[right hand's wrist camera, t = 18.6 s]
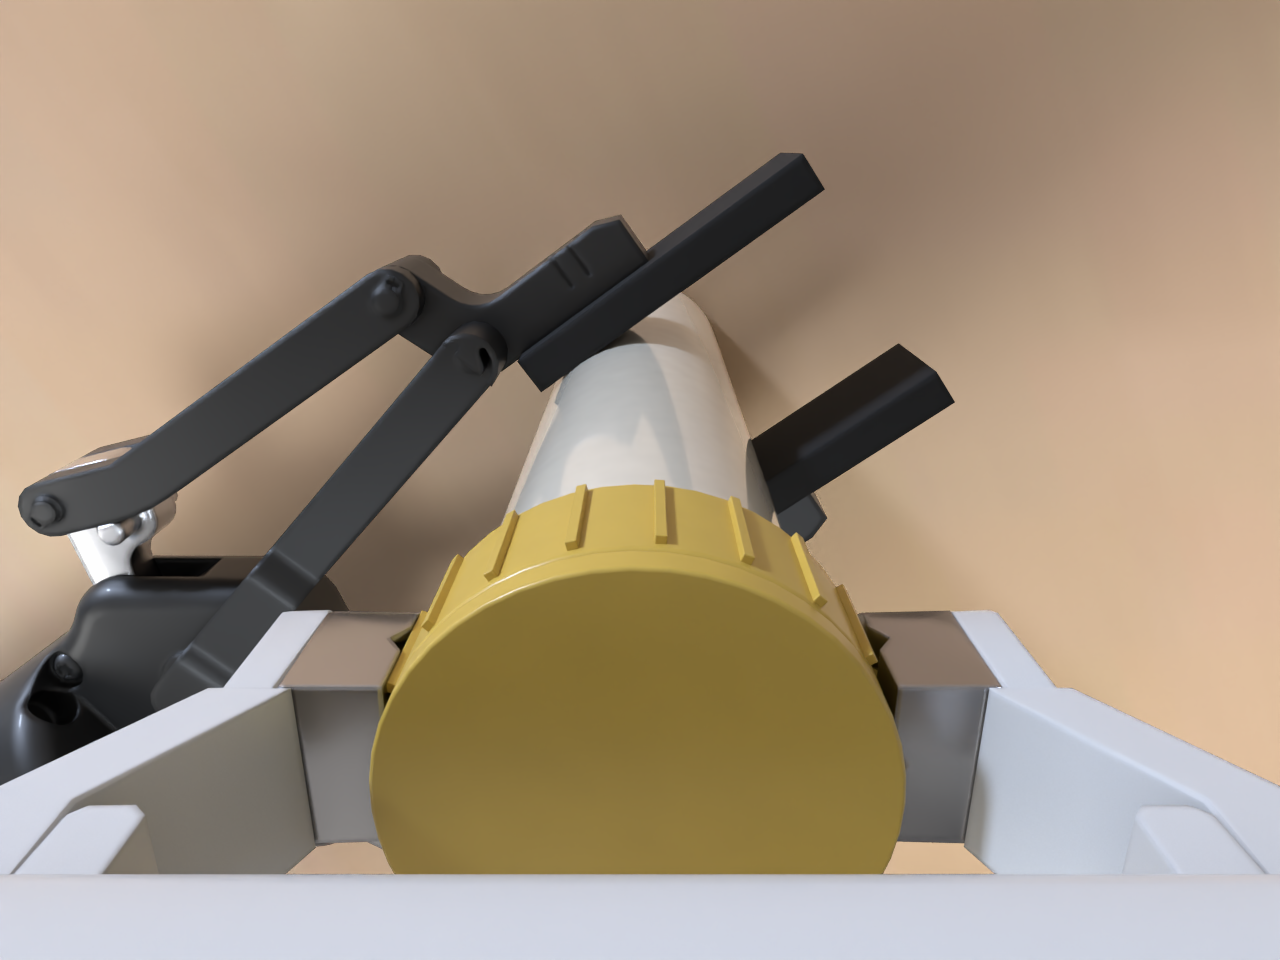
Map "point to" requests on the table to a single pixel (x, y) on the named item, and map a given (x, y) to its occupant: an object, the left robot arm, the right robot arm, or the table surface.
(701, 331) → the white cylinder
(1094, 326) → the table surface
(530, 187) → the table surface
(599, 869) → the lid
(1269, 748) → the table surface
